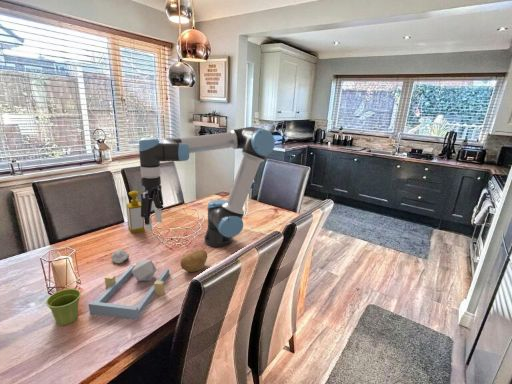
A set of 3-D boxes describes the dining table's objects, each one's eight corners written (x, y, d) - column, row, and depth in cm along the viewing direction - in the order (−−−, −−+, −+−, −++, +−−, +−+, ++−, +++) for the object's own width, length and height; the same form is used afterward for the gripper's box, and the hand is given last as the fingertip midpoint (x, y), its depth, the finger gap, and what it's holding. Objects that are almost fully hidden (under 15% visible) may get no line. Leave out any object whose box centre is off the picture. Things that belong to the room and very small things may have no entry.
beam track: (175, 274, 121) (175, 264, 119) (145, 320, 95) (144, 308, 93) (125, 269, 123) (124, 259, 121) (81, 312, 97) (79, 300, 95)
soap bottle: (154, 229, 163) (152, 190, 156) (131, 233, 156) (127, 193, 149) (151, 224, 169) (148, 187, 162) (128, 229, 162) (125, 190, 155)
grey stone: (133, 257, 133) (133, 247, 132) (123, 266, 125) (122, 256, 124) (117, 254, 134) (116, 245, 133) (106, 263, 127) (105, 253, 125)
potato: (213, 265, 129) (213, 250, 127) (191, 280, 118) (191, 263, 116) (197, 258, 134) (197, 244, 132) (175, 272, 123) (174, 256, 120)
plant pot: (71, 306, 99) (68, 285, 97) (90, 314, 96) (87, 293, 94) (43, 323, 91) (39, 301, 89) (63, 333, 88) (58, 310, 85)
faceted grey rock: (142, 289, 111) (156, 268, 112) (123, 276, 111) (138, 255, 112) (149, 283, 120) (163, 264, 121) (132, 272, 120) (146, 252, 121)
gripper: (154, 169, 126) (156, 216, 132) (128, 181, 105) (132, 236, 112) (170, 171, 125) (171, 217, 131) (147, 183, 104) (150, 237, 111)
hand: (153, 226), depth 122 cm, fingers open, 9 cm apart
